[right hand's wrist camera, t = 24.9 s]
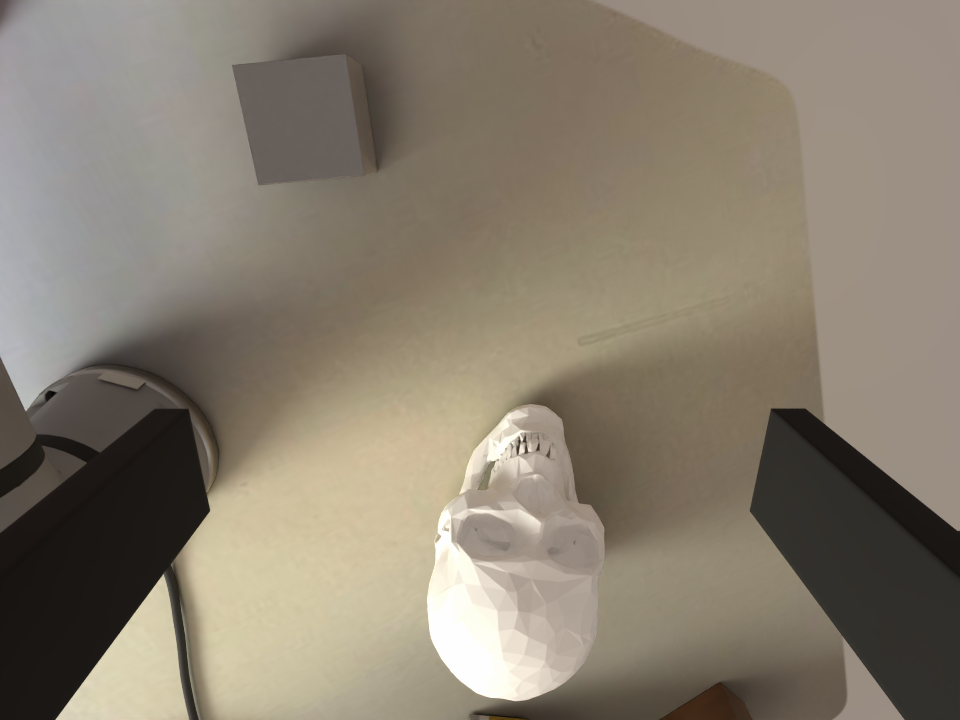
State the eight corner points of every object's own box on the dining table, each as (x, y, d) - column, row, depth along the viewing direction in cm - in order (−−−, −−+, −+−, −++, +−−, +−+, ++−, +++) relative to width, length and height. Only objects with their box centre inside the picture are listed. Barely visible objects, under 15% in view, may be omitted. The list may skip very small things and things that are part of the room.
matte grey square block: (377, 172, 41) (364, 175, 36) (283, 180, 41) (258, 185, 36) (362, 65, 38) (345, 53, 33) (262, 75, 38) (231, 65, 34)
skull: (605, 399, 47) (654, 515, 32) (568, 600, 55) (594, 768, 40) (448, 384, 47) (425, 494, 32) (434, 588, 55) (410, 751, 40)
